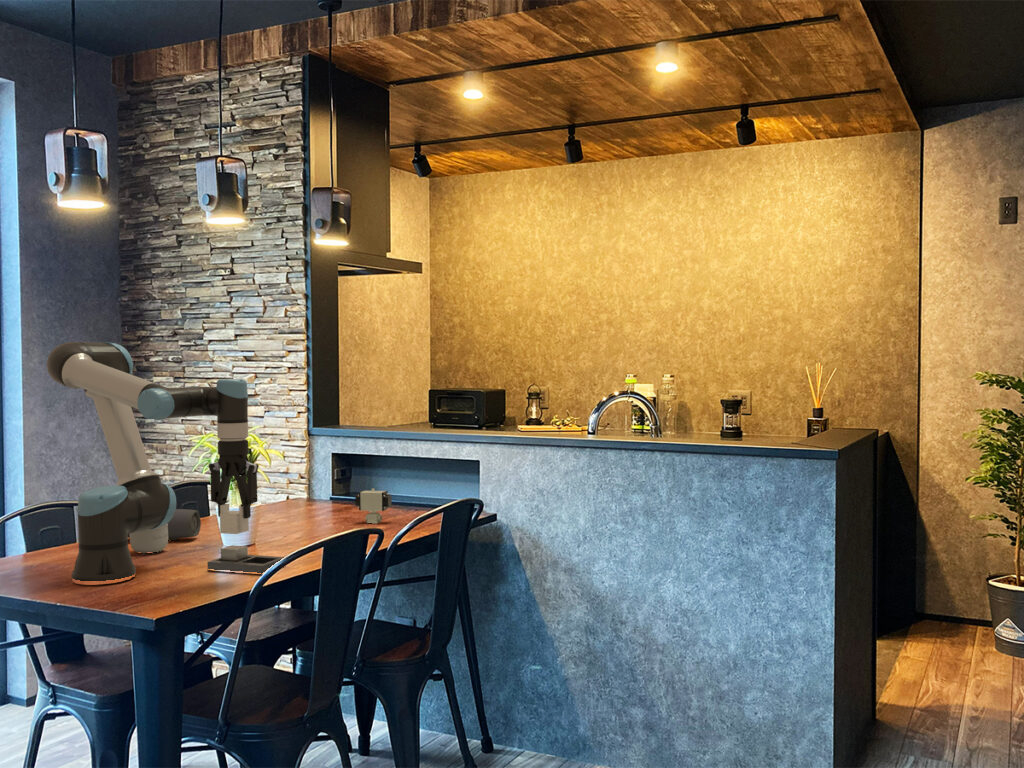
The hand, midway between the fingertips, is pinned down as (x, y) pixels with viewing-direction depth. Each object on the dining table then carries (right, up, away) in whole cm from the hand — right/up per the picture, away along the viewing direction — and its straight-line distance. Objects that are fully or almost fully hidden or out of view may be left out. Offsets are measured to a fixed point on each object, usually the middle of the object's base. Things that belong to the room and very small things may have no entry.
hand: (234, 530), depth 236 cm
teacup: (-36, -12, +37) cm, 53 cm away
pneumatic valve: (+23, -11, +82) cm, 86 cm away
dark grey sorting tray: (0, -12, +13) cm, 18 cm away
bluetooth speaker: (-40, -12, +54) cm, 68 cm away
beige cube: (0, 0, 0) cm, 0 cm away
